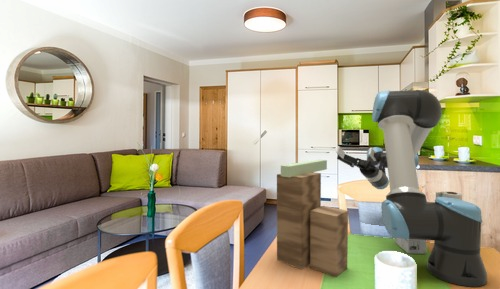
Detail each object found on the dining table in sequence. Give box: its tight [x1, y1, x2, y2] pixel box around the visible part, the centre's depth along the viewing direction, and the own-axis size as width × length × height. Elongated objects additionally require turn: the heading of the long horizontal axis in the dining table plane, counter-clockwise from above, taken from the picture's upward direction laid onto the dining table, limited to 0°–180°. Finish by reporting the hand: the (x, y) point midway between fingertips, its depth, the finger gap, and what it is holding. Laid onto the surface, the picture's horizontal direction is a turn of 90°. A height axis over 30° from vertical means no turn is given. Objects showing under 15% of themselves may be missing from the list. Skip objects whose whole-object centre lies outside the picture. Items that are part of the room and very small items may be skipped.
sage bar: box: [280, 159, 328, 177], centre depth 103 cm, size 24×4×4 cm, turn 136°
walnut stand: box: [276, 172, 349, 278], centre depth 97 cm, size 12×20×30 cm, turn 46°
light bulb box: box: [394, 237, 427, 255], centre depth 110 cm, size 11×7×11 cm, turn 179°
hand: (353, 149), depth 116 cm, fingers open, 13 cm apart
